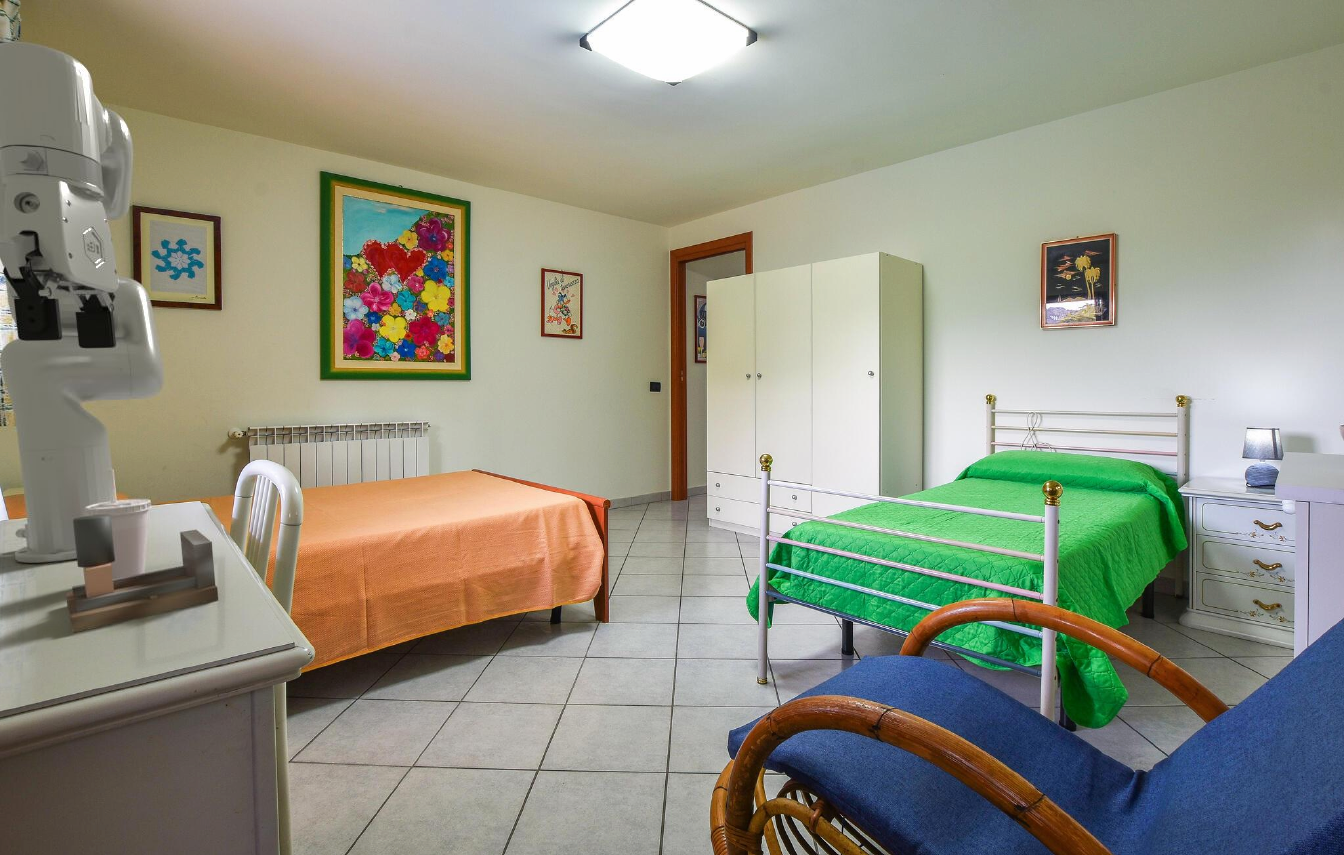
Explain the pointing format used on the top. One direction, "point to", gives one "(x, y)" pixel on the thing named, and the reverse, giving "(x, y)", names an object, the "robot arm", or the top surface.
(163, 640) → the top surface
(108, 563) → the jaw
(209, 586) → the vise base
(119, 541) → the smoothie
